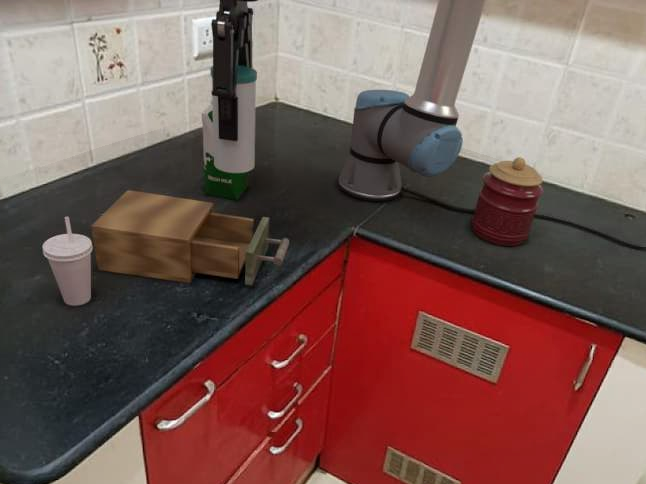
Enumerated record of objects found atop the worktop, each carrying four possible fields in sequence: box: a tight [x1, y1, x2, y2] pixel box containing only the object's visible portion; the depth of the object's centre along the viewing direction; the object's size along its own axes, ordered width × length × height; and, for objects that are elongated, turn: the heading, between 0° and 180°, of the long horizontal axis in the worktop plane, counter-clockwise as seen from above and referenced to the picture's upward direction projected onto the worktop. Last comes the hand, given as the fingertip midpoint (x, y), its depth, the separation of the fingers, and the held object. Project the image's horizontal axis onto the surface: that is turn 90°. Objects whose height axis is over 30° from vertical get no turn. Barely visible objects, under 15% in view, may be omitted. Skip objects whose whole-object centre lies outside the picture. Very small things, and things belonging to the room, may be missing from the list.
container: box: [209, 65, 258, 173], centre depth 86 cm, size 7×7×15 cm
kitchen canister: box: [470, 157, 544, 247], centre depth 120 cm, size 13×13×18 cm
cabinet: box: [90, 189, 215, 284], centre depth 96 cm, size 15×14×8 cm
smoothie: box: [42, 216, 94, 307], centre depth 81 cm, size 6×6×14 cm
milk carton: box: [201, 104, 249, 201], centre depth 117 cm, size 9×9×20 cm
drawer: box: [190, 212, 290, 286], centre depth 96 cm, size 18×13×6 cm
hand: (234, 131), depth 87 cm, fingers closed on container, 6 cm apart
